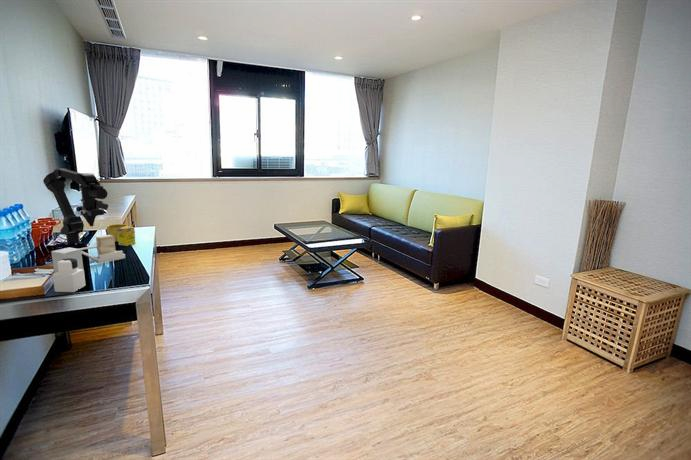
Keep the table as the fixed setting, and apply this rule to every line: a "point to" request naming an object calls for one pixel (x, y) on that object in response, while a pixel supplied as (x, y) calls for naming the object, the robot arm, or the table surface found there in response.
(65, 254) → the supplement box
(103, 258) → the tray
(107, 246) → the birch block
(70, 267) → the white stepped block
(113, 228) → the plant pot
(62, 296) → the table surface
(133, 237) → the supplement box
